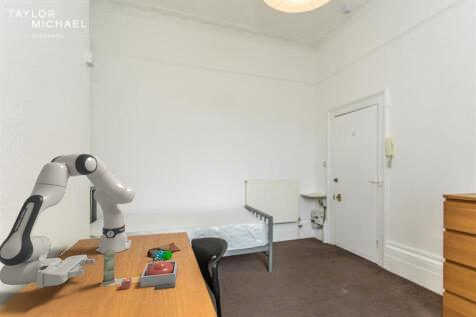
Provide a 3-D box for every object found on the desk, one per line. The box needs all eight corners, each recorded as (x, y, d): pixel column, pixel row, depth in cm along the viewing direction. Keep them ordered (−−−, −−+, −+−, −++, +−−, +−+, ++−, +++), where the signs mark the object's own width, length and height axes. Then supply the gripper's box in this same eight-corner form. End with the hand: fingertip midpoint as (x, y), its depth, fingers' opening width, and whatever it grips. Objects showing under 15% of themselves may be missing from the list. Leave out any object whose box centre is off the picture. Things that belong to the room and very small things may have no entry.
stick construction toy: (154, 261, 113) (153, 246, 118) (146, 267, 116) (146, 252, 121) (174, 261, 122) (172, 247, 126) (166, 266, 124) (165, 252, 129)
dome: (149, 271, 104) (149, 258, 104) (173, 269, 106) (173, 256, 106) (144, 283, 93) (144, 269, 93) (171, 281, 95) (172, 266, 96)
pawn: (104, 280, 97) (105, 248, 98) (116, 279, 98) (117, 247, 98) (100, 285, 92) (101, 252, 93) (112, 284, 93) (113, 251, 94)
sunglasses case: (155, 259, 121) (151, 247, 123) (149, 263, 125) (145, 251, 127) (181, 249, 135) (178, 239, 138) (175, 253, 139) (172, 243, 141)
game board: (107, 276, 102) (108, 265, 102) (177, 270, 109) (177, 259, 109) (92, 296, 87) (93, 283, 87) (175, 287, 93) (175, 275, 93)
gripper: (65, 266, 101) (99, 263, 103) (34, 291, 81) (76, 286, 83) (65, 252, 101) (99, 249, 104) (34, 273, 81) (77, 269, 84)
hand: (89, 266), depth 93 cm, fingers open, 8 cm apart
